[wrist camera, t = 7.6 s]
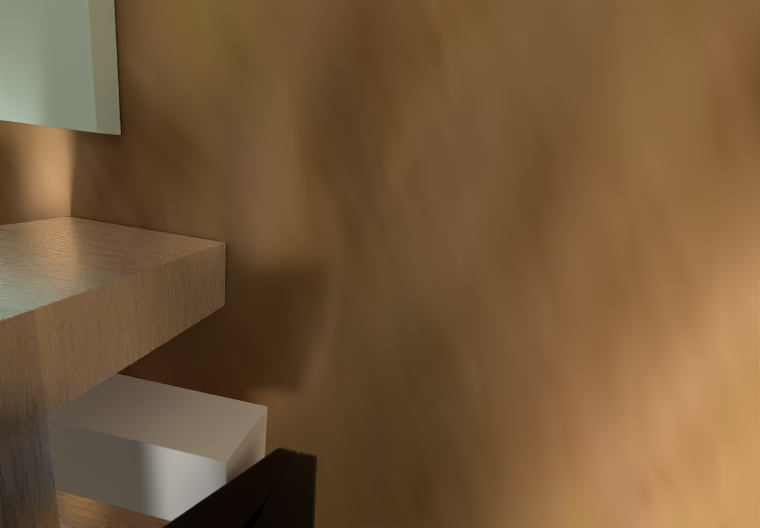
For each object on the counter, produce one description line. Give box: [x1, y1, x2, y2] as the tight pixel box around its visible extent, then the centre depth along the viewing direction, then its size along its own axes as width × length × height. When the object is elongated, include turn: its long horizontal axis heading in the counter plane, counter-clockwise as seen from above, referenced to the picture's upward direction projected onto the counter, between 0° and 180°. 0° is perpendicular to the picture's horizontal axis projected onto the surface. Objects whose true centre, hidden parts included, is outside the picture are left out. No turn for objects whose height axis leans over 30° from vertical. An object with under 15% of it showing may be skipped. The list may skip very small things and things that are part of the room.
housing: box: [0, 216, 226, 528], centre depth 8 cm, size 4×8×5 cm, turn 173°
